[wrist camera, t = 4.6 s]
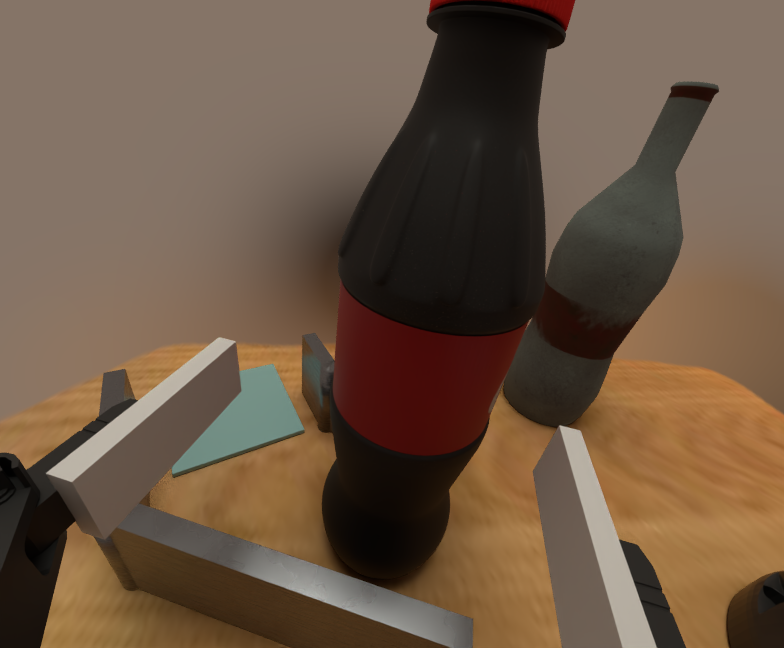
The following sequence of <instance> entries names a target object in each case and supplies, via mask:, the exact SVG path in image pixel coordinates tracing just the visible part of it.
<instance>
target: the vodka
mask: <svg viewBox="0 0 784 648" xmlns="http://www.w3.org/2000/svg"><path fill="white" fill-rule="evenodd" d="M718 92H719V88H718V86H717V85H715V84H710V83H703V82H678V83H676V84H674V85H673V86H672V87H671V93H670V95H669V97H668V99H667V101H666V103H665V105H664V107H663V109H662V112H661V113H660V115H659V117H658V119H657V121H656V124H655V126H654V128H653V130H652V132H651V134H650V136H649V138H648V140H647V142H646V144H645V146H644V148H643V150H642V152H641V154H640V156H639V158H638V160H637V162H636V164H635V165H634V166H633V167H632V168H631V169H629V170H628V171H627V172H626V173H624V174H623V175H622V176H621V177H619V178H618V179H617V180H616V181H615V182H613V183H612V184H611V185H610V186H608V187H607V188H606V189H605V190H603V191H602V192H601V193H600V194H598V195H597V196H596V197H595V198H593V199H592V200H591V201H590V202H588V203H587V204H586V205H585V206H583V207H582V208H581V209H580V210H579V211H577V213H576V214H575V215H574V216H573V218H572V219H571V220H570V222H569V223H568V224H567V226H566V228H565V230H564V231H563V233H562V235H561V237H560V239H559V241H558V242H557V244H556V246H555V248H554V250H553V252H552V256H551V259H550V264H549V267H548V270H547V274H546V277H545V291H544V295H543V297H542V300H541V302H540V305H539V307H538V309H537V311H536V313H535V315H534V316H533V317H532V320H531V322H530V324H529V325H528V327H527V328H526V330H525V332H524V334H523V336H522V339H521V341H520V344H519V346H518V348H517V351H516V353H515V356H514V358H513V361H512V363H511V365H510V368H509V370H508V373H507V375H506V378H505V380H504V392H505V397H506V398H507V400H508V401H509V403H510V404H511V405H512V406H513V407H514V408H515V409H516V410H517V411H518V412H519V413H521V414H522V415H524V416H526V417H527V418H529V419H531V420H533V421H535V422H538V423H540V424H543V425H548V426H553V427H558V426H559V425H560V426H566V425H568V424H570V423H572V422H573V421H575V420H576V419H577V418H579V417H580V416H581V415H582V414H583V413H584V411H585V410H586V409H587V408H588V407H589V406H590V404H591V403H592V402H593V401H594V399H595V398H596V397H597V395H598V393H599V391H600V388H601V386H602V384H603V381H604V379H605V376H606V374H607V371H608V368H609V366H610V363H611V360H612V357H613V355H614V352H615V351H616V350H617V348H618V347H619V345H620V344H621V343H622V341H623V340H624V338H625V337H626V336H627V334H628V333H629V332H630V330H631V329H632V328H633V326H634V325H635V324H636V322H637V321H638V319H639V318H640V317H641V315H642V314H643V312H644V311H645V310H646V308H647V307H648V306H649V305H650V304H651V302H652V301H653V300H654V299H655V297H656V296H657V295H658V294H659V292H660V291H661V290H662V289H663V287H664V286H665V285H666V282H667V280H668V278H669V276H670V274H671V271H672V269H673V267H674V265H675V262H676V260H677V258H678V256H679V252H680V248H681V245H682V241H683V231H682V223H681V215H680V207H679V199H678V191H677V182H676V174H675V171H676V169H677V167H678V166H679V164H680V161H681V159H682V158H683V156H684V154H685V152H686V150H687V148H688V146H689V144H690V142H691V140H692V138H693V136H694V134H695V132H696V130H697V128H698V126H699V124H700V122H701V120H702V118H703V116H704V114H705V113H706V110H707V109H708V107H709V105H710V103H711V101H712V99H713V97H714V95H715V94H716V93H718Z"/></svg>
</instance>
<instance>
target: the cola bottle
mask: <svg viewBox="0 0 784 648" xmlns="http://www.w3.org/2000/svg"><path fill="white" fill-rule="evenodd" d="M574 3H575V0H431V3H430V9H429V15H428V17H427V25H428V27H429V28H430V29H431V30H432V31H434V32H435V33H437V34H438V36H437V40H436V42H435V46H434V49H433V52H432V55H431V58H430V61H429V64H428V67H427V70H426V73H425V76H424V79H423V82H422V85H421V88H420V91H419V93H418V96H417V99H416V101H415V103H414V106H413V108H412V110H411V112H410V114H409V115H408V117H407V119H406V121H405V122H404V124H403V126H402V128H401V129H400V131H399V133H398V135H397V136H396V138H395V140H394V141H393V143H392V144H391V146H390V147H389V149H388V151H387V152H386V154H385V155H384V157H383V159H382V160H381V162H380V164H379V165H378V167H377V169H376V171H375V172H374V174H373V176H372V178H371V179H370V181H369V183H368V185H367V187H366V189H365V191H364V192H363V194H362V196H361V198H360V200H359V202H358V204H357V206H356V209H355V211H354V213H353V215H352V217H351V219H350V221H349V224H348V226H347V228H346V230H345V232H344V235H343V237H342V240H341V242H340V245H339V250H338V254H339V263H338V272H339V276H340V279H341V280H340V294H339V308H338V323H337V336H336V350H335V364H334V377H333V380H332V383H331V387H330V415H331V423H332V429H333V436H334V443H335V450H336V457H337V459H336V460H335V462H334V464H333V465H332V467H331V469H330V471H329V473H328V476H327V478H326V482H325V485H324V490H323V496H322V514H323V521H324V525H325V529H326V532H327V535H328V538H329V540H330V542H331V544H332V546H333V548H334V550H335V551H336V553H337V554H338V556H339V557H340V558H341V559H342V560H343V561H344V562H345V563H346V564H347V565H348V566H349V567H350V568H352V569H353V570H355V571H356V572H358V573H360V574H362V575H365V576H367V577H371V578H376V579H392V578H397V577H401V576H403V575H406V574H408V573H410V572H412V571H413V570H415V569H417V568H418V567H419V566H421V565H422V564H423V563H424V562H425V561H426V560H427V559H428V558H429V557H430V556H431V555H432V554H433V552H434V551H435V550H436V548H437V547H438V545H439V543H440V542H441V540H442V538H443V535H444V533H445V530H446V527H447V523H448V519H449V512H450V496H449V489H450V487H451V486H452V484H453V483H454V482H455V480H456V479H457V477H458V476H459V475H460V473H461V472H462V470H463V469H464V468H465V466H466V465H467V463H468V462H469V461H470V459H471V458H472V456H473V455H474V454H475V452H476V451H477V449H478V447H479V446H480V444H481V442H482V440H483V438H484V436H485V433H486V431H487V428H488V424H489V417H490V414H491V412H492V409H493V407H494V404H495V402H496V399H497V397H498V395H499V392H500V390H501V387H502V385H503V382H504V380H505V378H506V375H507V373H508V370H509V368H510V365H511V363H512V361H513V358H514V356H515V353H516V351H517V348H518V346H519V344H520V341H521V339H522V336H523V334H524V332H525V329H526V327H527V324H528V322H529V320H530V319H531V318H532V317H533V316H534V315H535V313H536V311H537V309H538V307H539V305H540V302H541V300H542V297H543V295H544V291H545V258H546V256H545V253H546V245H545V244H546V242H545V241H546V237H545V236H546V233H545V208H544V195H543V183H542V172H541V162H540V152H539V142H538V141H539V140H538V113H539V104H540V96H541V88H542V80H543V72H544V65H545V58H546V52H547V49H551V48H555V47H557V46H559V45H561V44H562V43H563V42H564V40H565V37H566V33H565V31H566V30H567V27H568V24H569V20H570V17H571V13H572V10H573V6H574Z"/></svg>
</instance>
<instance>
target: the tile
mask: <svg viewBox="0 0 784 648" xmlns="http://www.w3.org/2000/svg"><path fill="white" fill-rule="evenodd" d="M239 373H240V381H241V390H242V391H241V392H240V393H239V394H238V396H237V397H236V398H235V399H234V400H233V401H232V402H231V403H230V404H229V405H228V406H227V408H226V409H225V410H224V411H223V412H222V413H221V414H220V415H219V416H218V417H217V418H216V419H215V421H214V422H213V423H212V424H211V425H210V426H209V427H208V428H207V429H206V430H205V431H204V433H203V434H202V435H201V436H200V437H199V438H198V439H197V440H196V441H195V442H194V443H193V445H192V446H191V447H190V448H189V449H188V450H187V451H186V452H185V453H184V454H183V455H182V457H181V458H180V459H179V460H178V461H177V462H176V463H175V464H174V465H173V466H172V474H173V477H176V476H179V475H182V474H185V473H188V472H191V471H194V470H197V469H200V468H202V467H205V466H208V465H211V464H214V463H217V462H220V461H223V460H226V459H229V458H232V457H234V456H237V455H240V454H243V453H246V452H249V451H252V450H255V449H258V448H261V447H264V446H267V445H269V444H272V443H275V442H278V441H281V440H284V439H287V438H290V437H293V436H296V435H299V434H301V433H304V427H303V425H302V423H301V421H300V419H299V417H298V415H297V413H296V411H295V409H294V407H293V404H292V402H291V400H290V398H289V396H288V394H287V392H286V390H285V388H284V386H283V383H282V381H281V379H280V377H279V375H278V373H277V371H276V369H275V367H274V365H273V364H270V365H265V366H261V367H257V368H252V369H248V370H243V371H239Z"/></svg>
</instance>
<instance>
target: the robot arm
mask: <svg viewBox="0 0 784 648" xmlns="http://www.w3.org/2000/svg"><path fill="white" fill-rule="evenodd" d="M241 391H242V390H241V381H240V373H239V364H238V356H237V347H236V342H235V341H232V340H228V339H224V338H220V337H219V338H217V340H215V341H214V342H212V343H211V344H210V345H209V346H207V347H206V348H205V349H203V350H202V351H201V352H200V353H198V354H197V355H196V356H195V357H193V358H192V359H191V360H189V361H188V362H187V363H186V364H184V365H183V366H182V367H181V368H179V369H178V370H177V371H175V372H174V373H173V374H172V375H170V376H169V377H168V378H166V379H165V380H164V381H163V382H161V383H160V384H159V385H158V386H156V387H155V388H154V389H152V390H151V391H150V392H149V393H147V394H146V395H145V396H144V397H142V398H141V399H140V400H135V399H131V398H130V399H128V400H126V401H123V402H121V403H119V404H117V405H115V406H112V407H111V408H109V409H108V410H107V411H105V412H104V413H103V414H101V415H100V416H99V417H97V418H96V420H95V421H92V422H91V423H89V424H88V425H87V426H85V427H84V428H83V430H82V431H79V432H77V433H76V434H75V435H73V436H72V437H70V438H69V439H68V440H66V441H65V442H64V443H62V444H61V445H60V446H58V447H57V448H56V449H54V450H53V451H52V452H50V453H49V454H48V455H46V456H45V457H44V458H42V459H41V460H40V461H38V462H37V463H36V464H34V465H33V466H32V467H30V468H29V469H27V470H26V469H25V468H24V466H23V465H22V463H21V462H20V460H19V459H18V458H17V457H16V456H15V455H14V454H9V453H0V648H40V647H41V643H42V638H43V634H44V630H45V626H46V622H47V618H48V614H49V610H50V606H51V602H52V598H53V593H54V589H55V585H56V581H57V577H58V573H59V569H60V565H61V561H62V557H63V552H64V548H65V544H66V540H67V531H66V529H67V528H68V527H69V526H70V525H72V524H73V523H74V522H75V521H76V523H77V525H78V526H79V528H80V529H81V531H82V532H84V533H86V534H89V535H92V536H95V537H98V538H101V539H104V540H105V539H106V538H107V537H108V536H109V535H110V534H111V533H112V532H113V531H114V529H115V528H116V527H117V526H118V525H119V524H120V523H121V522H122V521H123V520H124V519H125V518H126V516H127V515H128V514H129V513H130V512H131V511H132V510H133V509H134V508H135V507H136V506H137V504H138V503H139V502H140V501H141V500H142V499H143V498H144V497H145V496H146V495H147V494H148V492H149V491H150V490H151V489H152V488H153V487H154V486H155V485H156V484H157V483H158V482H159V480H160V479H161V478H162V477H163V476H164V475H165V474H166V473H167V472H168V471H169V470H170V469H171V467H172V466H173V465H174V464H175V463H176V462H177V461H178V460H179V459H180V458H181V457H182V455H183V454H184V453H185V452H186V451H187V450H188V449H189V448H190V447H191V446H192V445H193V443H194V442H195V441H196V440H197V439H198V438H199V437H200V436H201V435H202V434H203V433H204V431H205V430H206V429H207V428H208V427H209V426H210V425H211V424H212V423H213V422H214V421H215V419H216V418H217V417H218V416H219V415H220V414H221V413H222V412H223V411H224V410H225V409H226V408H227V406H228V405H229V404H230V403H231V402H232V401H233V400H234V399H235V398H236V397H237V396H238V394H239V393H240V392H241ZM533 476H534V482H535V488H536V494H537V500H538V506H539V512H540V518H541V524H542V530H543V536H544V542H545V548H546V554H547V560H548V566H549V572H550V578H551V584H552V590H553V596H554V602H555V608H556V614H557V620H558V626H559V632H560V638H561V644H562V648H686V646H685V644H684V641H683V639H682V636H681V634H680V632H679V629H678V627H677V624H676V622H675V619H674V617H673V614H672V613H670V607H669V605H668V602H667V600H666V597H665V595H664V594H663V593H662V587H661V585H660V583H659V580H658V578H657V575H656V573H655V570H654V568H653V566H652V565H651V563H650V562H649V560H648V559H647V558H646V556H645V555H644V553H643V552H642V551H641V549H640V548H639V546H638V545H636V544H633V543H629V542H626V541H622V540H619V539H618V536H617V533H616V530H615V527H614V525H613V522H612V519H611V516H610V513H609V510H608V507H607V505H606V502H605V499H604V496H603V493H602V490H601V488H600V485H599V482H598V479H597V476H596V473H595V471H594V468H593V465H592V462H591V459H590V456H589V453H588V451H587V448H586V445H585V442H584V439H583V436H582V434H581V431H580V430H576V429H572V428H568V427H564V426H560V425H559V427H558V428H557V430H556V432H555V434H554V435H553V437H552V439H551V441H550V442H549V444H548V446H547V448H546V449H545V451H544V453H543V455H542V456H541V458H540V460H539V462H538V463H537V465H536V467H535V469H534V470H533ZM728 634H729V640H730V645H731V648H784V571H778V572H773V573H770V574H767V575H764V576H762V577H760V578H759V579H757V580H756V581H754V582H752V583H751V584H749V585H748V586H746V587H745V588H743V589H742V590H740V591H739V592H738V593H737V594H736V595H735V596H734V598H733V600H732V601H731V604H730V607H729V611H728Z"/></svg>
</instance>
